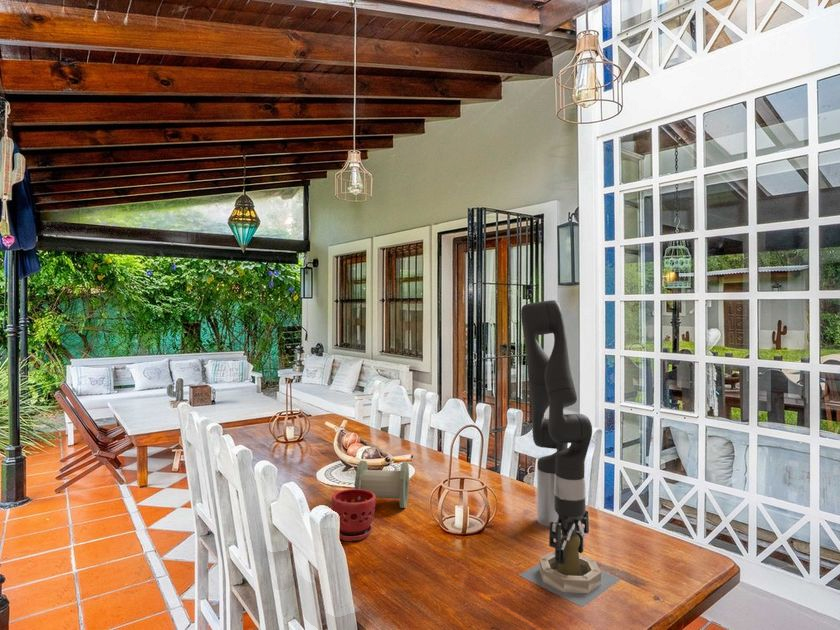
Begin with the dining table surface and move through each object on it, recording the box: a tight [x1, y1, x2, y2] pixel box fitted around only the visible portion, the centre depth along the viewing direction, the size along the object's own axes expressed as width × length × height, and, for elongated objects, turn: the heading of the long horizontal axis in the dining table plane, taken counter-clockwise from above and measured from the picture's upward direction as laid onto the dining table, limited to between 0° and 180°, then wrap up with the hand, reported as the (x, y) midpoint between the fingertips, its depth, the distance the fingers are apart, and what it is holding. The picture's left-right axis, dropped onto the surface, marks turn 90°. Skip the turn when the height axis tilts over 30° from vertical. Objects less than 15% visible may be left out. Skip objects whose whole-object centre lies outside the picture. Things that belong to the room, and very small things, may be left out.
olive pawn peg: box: [557, 532, 581, 576], centre depth 126 cm, size 6×6×11 cm
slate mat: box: [518, 563, 621, 608], centre depth 126 cm, size 18×18×1 cm
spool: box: [354, 460, 410, 509], centre depth 173 cm, size 16×15×15 cm
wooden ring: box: [538, 550, 602, 593], centre depth 126 cm, size 14×14×3 cm
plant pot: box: [331, 488, 377, 542], centre depth 151 cm, size 13×13×12 cm
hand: (569, 557), depth 126 cm, fingers open, 8 cm apart
